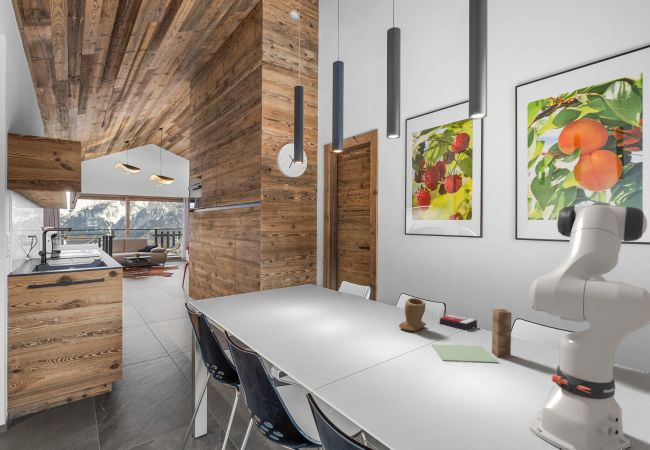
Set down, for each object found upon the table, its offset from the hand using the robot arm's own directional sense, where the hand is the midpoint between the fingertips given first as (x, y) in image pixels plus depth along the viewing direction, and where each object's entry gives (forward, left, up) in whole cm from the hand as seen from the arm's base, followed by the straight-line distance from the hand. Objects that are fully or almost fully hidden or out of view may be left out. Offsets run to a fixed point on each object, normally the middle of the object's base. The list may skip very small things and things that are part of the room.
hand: (533, 307), depth 132 cm
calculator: (+9, +41, -20) cm, 46 cm away
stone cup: (-16, +48, -20) cm, 54 cm away
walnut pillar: (-10, +7, -20) cm, 23 cm away
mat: (-22, +16, -20) cm, 34 cm away
